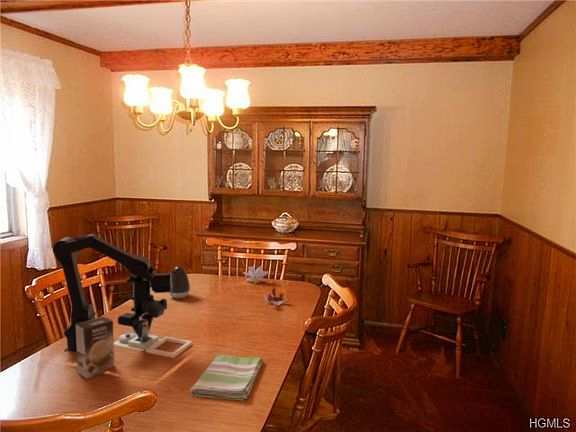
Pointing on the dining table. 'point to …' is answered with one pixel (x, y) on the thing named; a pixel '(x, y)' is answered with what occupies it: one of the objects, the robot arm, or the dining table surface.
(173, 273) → the dark grey egg shape
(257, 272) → the water lily
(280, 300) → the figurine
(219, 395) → the dish towel
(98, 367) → the coffee box
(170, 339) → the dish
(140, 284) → the robot arm
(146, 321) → the pin
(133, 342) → the block
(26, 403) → the dining table surface
